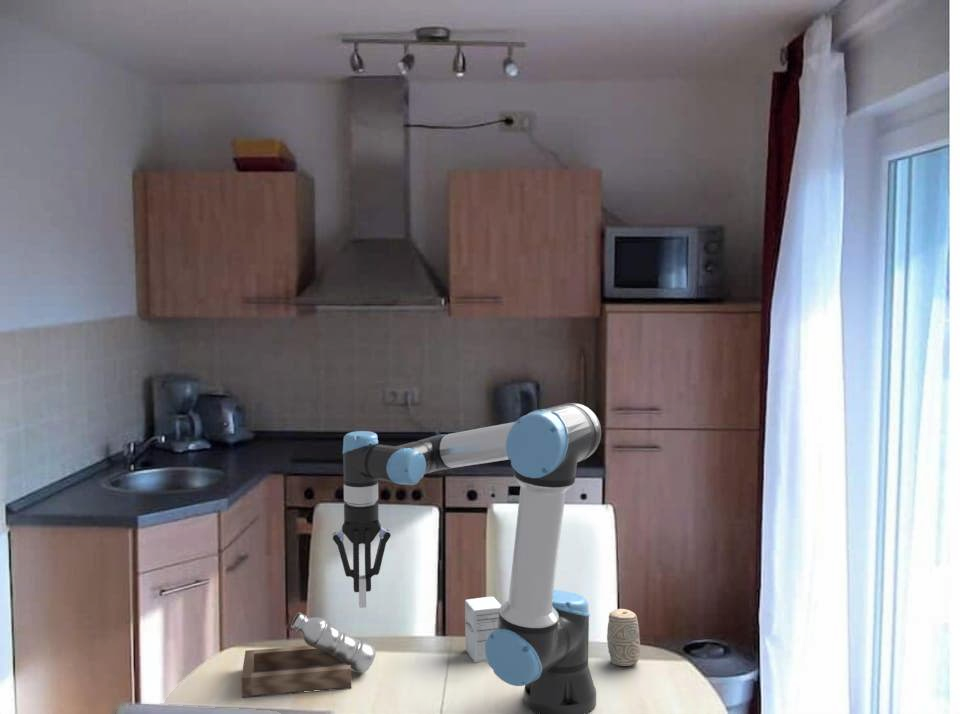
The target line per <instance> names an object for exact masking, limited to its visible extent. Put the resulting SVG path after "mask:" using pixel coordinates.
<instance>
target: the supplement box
mask: <svg viewBox="0 0 960 714" xmlns="http://www.w3.org/2000/svg"><path fill="white" fill-rule="evenodd" d="M464 603H465V604H464V605H465V607H464V610H465V615H464V616H465V618H464V619H465V621H464V623H465V625H464V626H465V628H464V629H465V631H464V632H465V635H464V636H465V641H464V643H465V651H466V652H467V653H468V654H469V656H470V657H471V659H472V661H473V662H474V663H479V662H480V661H482V662H487V659H486V655H485V643H486V640H487V638H488V636H489V635H490V634H491V633H492V632H493V631H494V630H496V629H497V627H498V619H499V610H500V607H501V605H502V604H501V603H500V602H499V601H498V600H497V599H496V598H495V597H494V596H483V597H477V598H469V599H465V600H464Z"/></svg>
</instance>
